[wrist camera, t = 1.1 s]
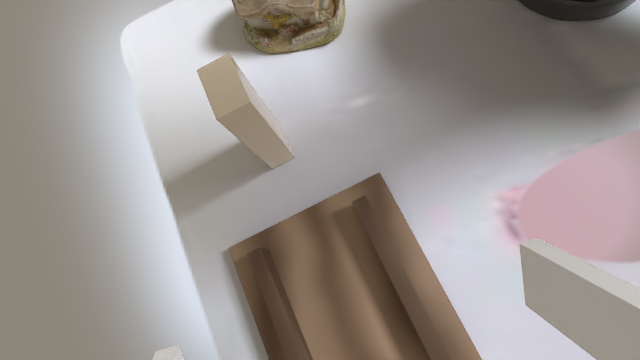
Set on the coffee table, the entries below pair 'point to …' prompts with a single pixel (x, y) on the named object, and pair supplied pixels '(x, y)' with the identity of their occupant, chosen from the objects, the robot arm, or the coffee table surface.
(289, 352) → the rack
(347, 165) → the coffee table surface
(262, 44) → the ceramic model
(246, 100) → the beige rectangular block
